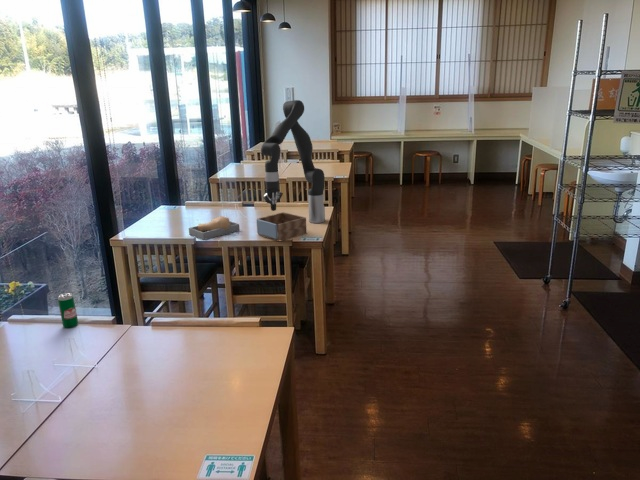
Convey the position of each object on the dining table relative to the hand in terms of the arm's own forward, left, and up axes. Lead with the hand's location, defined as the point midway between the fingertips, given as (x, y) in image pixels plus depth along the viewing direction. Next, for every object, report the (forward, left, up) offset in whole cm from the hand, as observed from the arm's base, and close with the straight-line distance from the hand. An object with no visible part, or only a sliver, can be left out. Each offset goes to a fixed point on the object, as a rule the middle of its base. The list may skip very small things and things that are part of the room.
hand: (273, 210), depth 278 cm
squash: (+19, -33, -15) cm, 41 cm away
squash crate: (+19, -33, -15) cm, 41 cm away
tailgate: (+5, 0, -13) cm, 14 cm away
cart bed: (-5, 0, -15) cm, 16 cm away
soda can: (+121, +31, -15) cm, 126 cm away
